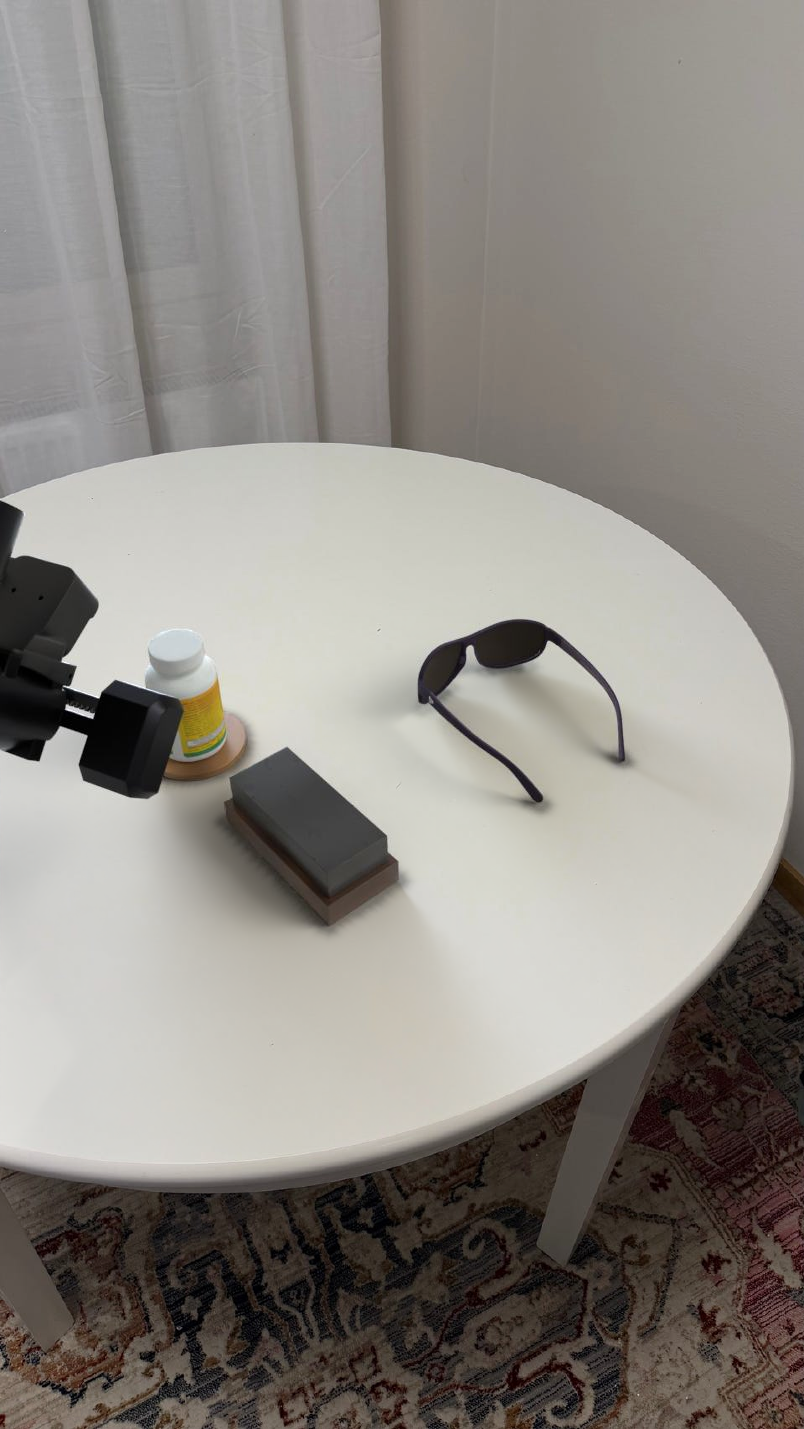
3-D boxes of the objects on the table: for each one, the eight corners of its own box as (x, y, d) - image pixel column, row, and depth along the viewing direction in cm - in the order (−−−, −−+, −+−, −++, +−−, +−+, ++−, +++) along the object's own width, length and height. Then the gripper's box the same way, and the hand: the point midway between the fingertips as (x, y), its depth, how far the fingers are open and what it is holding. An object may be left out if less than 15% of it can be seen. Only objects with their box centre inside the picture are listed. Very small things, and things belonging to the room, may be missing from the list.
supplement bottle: (147, 758, 78) (124, 660, 72) (176, 714, 82) (156, 618, 76) (212, 769, 77) (194, 671, 71) (238, 724, 81) (222, 628, 75)
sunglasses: (526, 649, 89) (530, 602, 86) (653, 748, 79) (662, 700, 76) (398, 705, 84) (397, 657, 80) (517, 819, 74) (521, 770, 70)
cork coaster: (156, 792, 76) (155, 786, 76) (136, 727, 82) (135, 722, 81) (258, 764, 78) (257, 758, 78) (232, 703, 84) (231, 697, 84)
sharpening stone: (399, 880, 69) (398, 836, 66) (329, 926, 66) (325, 882, 64) (293, 783, 77) (288, 739, 74) (226, 820, 74) (218, 776, 71)
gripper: (133, 586, 51) (267, 644, 66) (-133, 512, 57) (43, 580, 72) (67, 795, 51) (216, 806, 66) (-194, 698, 57) (-4, 728, 72)
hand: (114, 722), depth 69 cm, fingers open, 9 cm apart
